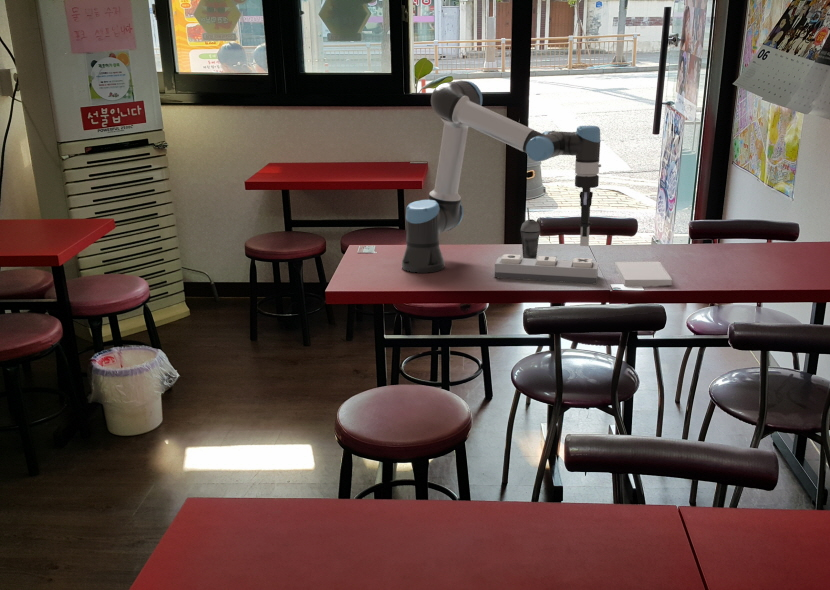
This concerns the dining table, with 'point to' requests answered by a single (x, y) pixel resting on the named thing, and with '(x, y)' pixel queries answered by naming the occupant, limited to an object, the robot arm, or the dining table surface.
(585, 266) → the key cross
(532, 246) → the beverage cup
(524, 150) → the robot arm
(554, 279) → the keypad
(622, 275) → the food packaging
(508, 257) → the block
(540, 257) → the bar
